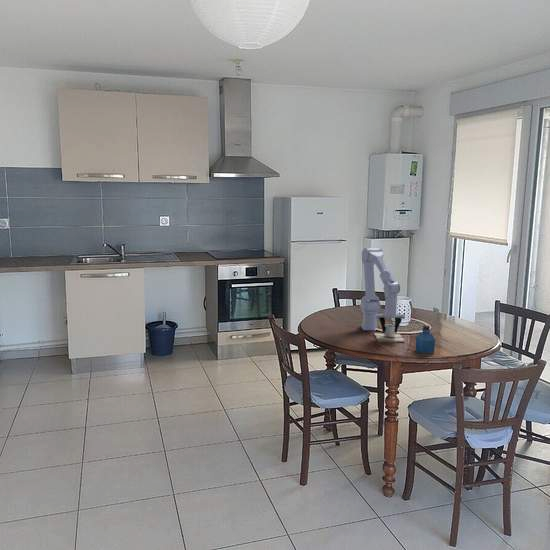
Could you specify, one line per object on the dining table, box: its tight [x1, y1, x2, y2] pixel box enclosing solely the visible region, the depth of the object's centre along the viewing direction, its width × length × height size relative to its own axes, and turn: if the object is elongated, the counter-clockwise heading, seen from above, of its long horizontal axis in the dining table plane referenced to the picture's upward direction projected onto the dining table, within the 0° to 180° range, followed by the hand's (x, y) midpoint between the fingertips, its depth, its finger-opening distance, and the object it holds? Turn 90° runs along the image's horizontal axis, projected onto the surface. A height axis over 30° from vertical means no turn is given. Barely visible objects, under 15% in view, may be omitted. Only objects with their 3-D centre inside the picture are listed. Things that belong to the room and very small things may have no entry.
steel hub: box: [384, 323, 396, 337], centre depth 270 cm, size 6×6×5 cm
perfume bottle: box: [415, 325, 436, 354], centre depth 250 cm, size 6×6×12 cm
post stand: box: [373, 332, 406, 343], centre depth 270 cm, size 13×13×6 cm
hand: (389, 332), depth 270 cm, fingers closed on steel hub, 5 cm apart
